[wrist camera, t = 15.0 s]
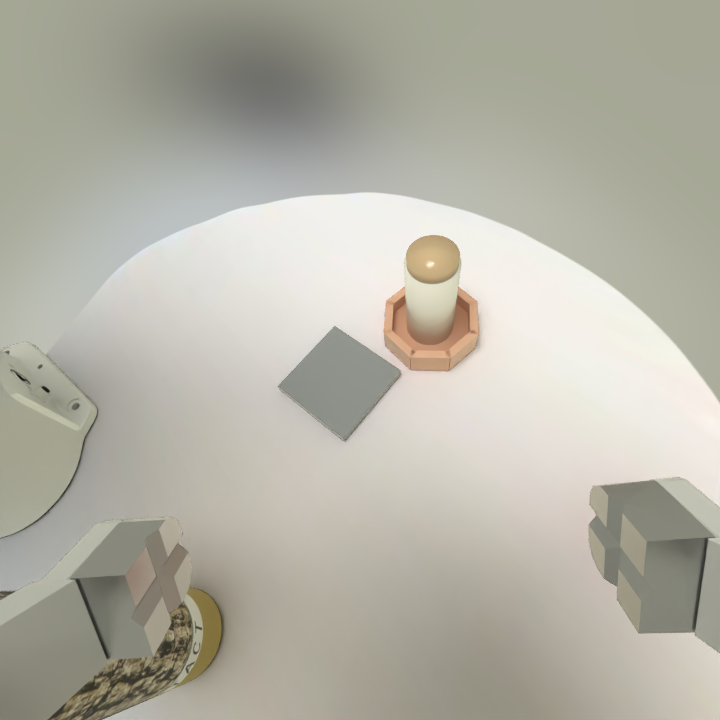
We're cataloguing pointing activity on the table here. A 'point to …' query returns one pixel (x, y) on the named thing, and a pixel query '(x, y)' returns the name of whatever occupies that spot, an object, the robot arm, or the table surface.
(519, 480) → the table surface
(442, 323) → the spice jar
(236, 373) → the table surface
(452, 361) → the terracotta dish
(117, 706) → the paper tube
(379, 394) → the slate coaster
